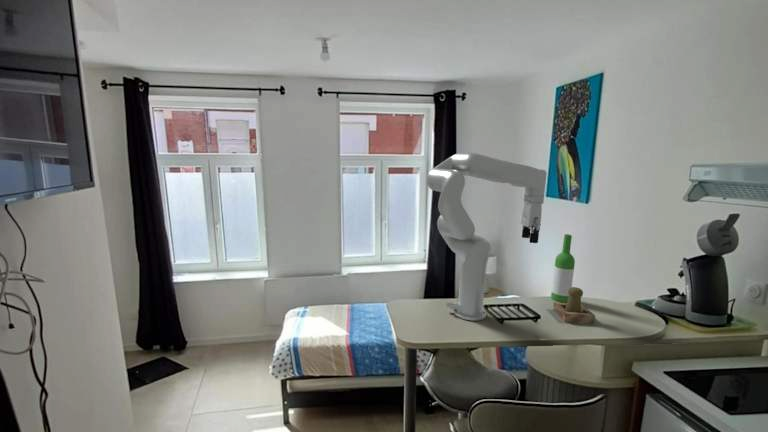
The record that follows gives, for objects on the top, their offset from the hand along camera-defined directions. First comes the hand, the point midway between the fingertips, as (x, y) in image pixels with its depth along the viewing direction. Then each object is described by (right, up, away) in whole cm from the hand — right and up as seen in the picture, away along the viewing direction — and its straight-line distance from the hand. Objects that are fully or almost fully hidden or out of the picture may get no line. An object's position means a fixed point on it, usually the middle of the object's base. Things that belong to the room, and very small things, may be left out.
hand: (529, 240), depth 151 cm
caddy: (+14, -30, -8) cm, 34 cm away
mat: (+13, -30, -7) cm, 34 cm away
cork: (+14, -29, -8) cm, 33 cm away
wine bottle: (+18, -28, +11) cm, 35 cm away
